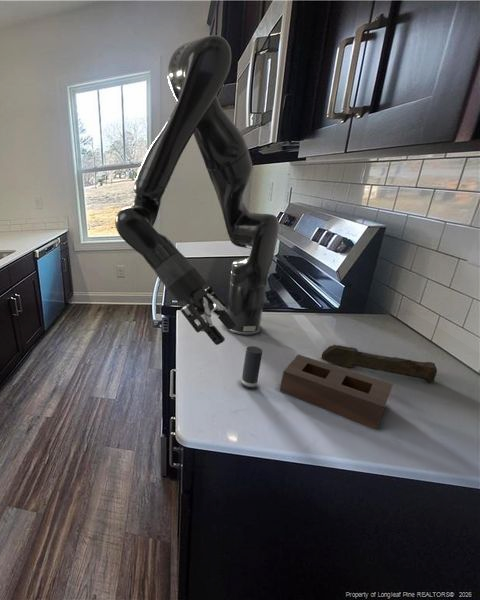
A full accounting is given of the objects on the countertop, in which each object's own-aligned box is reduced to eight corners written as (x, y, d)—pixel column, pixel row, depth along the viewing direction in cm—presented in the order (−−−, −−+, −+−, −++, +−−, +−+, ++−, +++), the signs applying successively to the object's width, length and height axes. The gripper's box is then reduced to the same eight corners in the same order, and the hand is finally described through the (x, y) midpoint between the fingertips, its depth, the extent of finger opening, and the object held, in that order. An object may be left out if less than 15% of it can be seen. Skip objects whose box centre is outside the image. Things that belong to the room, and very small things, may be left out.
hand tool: (427, 375, 69) (434, 357, 67) (433, 385, 66) (441, 366, 64) (320, 355, 79) (324, 339, 77) (321, 363, 75) (325, 346, 74)
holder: (294, 373, 72) (298, 354, 71) (385, 405, 61) (393, 383, 59) (279, 390, 67) (283, 370, 65) (376, 429, 56) (384, 406, 54)
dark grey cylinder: (244, 379, 71) (249, 344, 68) (259, 385, 69) (265, 349, 66) (238, 385, 70) (243, 349, 66) (253, 391, 67) (259, 355, 64)
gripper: (178, 275, 64) (232, 340, 61) (203, 259, 74) (250, 314, 71) (153, 295, 69) (202, 356, 66) (180, 278, 79) (223, 330, 76)
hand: (227, 334), depth 69 cm, fingers open, 8 cm apart
